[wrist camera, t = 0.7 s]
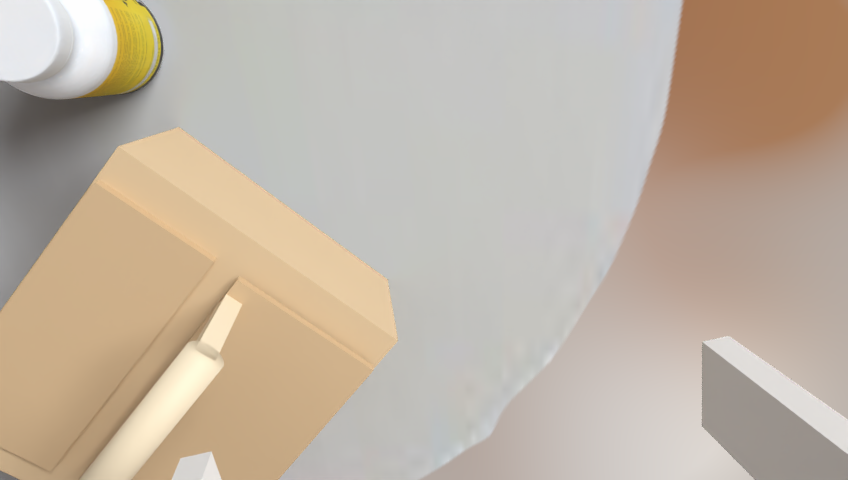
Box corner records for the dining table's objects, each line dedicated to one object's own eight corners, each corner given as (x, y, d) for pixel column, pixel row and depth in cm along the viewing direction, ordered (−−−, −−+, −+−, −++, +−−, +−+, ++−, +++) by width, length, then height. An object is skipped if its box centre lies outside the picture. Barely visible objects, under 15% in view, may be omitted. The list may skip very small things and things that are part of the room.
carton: (19, 345, 39) (-95, 439, 29) (178, 127, 36) (113, 147, 26) (232, 462, 44) (197, 576, 34) (387, 279, 41) (398, 345, 31)
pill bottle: (182, 18, 35) (103, -8, 24) (147, 111, 36) (57, 128, 25) (76, -35, 33) (-63, -90, 22) (44, 64, 34) (-101, 61, 23)
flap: (71, 476, 32) (-12, 596, 24) (233, 271, 29) (194, 336, 22) (214, 547, 34) (178, 673, 27) (373, 365, 32) (379, 450, 25)
